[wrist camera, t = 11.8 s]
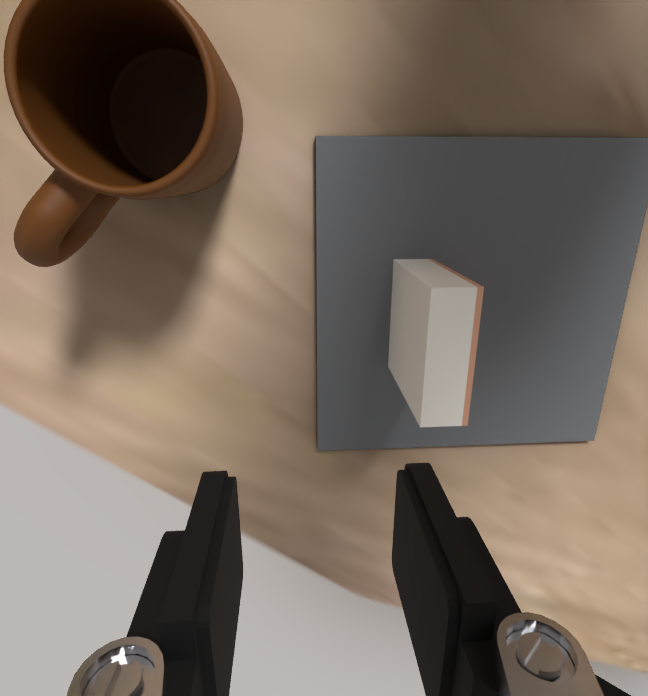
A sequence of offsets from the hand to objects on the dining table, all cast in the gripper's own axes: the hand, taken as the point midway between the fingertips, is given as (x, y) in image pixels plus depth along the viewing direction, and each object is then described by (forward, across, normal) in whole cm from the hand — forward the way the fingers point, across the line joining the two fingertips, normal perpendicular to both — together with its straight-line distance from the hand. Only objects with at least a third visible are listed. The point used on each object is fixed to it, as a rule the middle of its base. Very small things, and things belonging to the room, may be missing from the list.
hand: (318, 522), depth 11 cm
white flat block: (+19, -7, 0) cm, 20 cm away
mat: (+19, -11, 0) cm, 22 cm away
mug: (+19, +8, -9) cm, 23 cm away
